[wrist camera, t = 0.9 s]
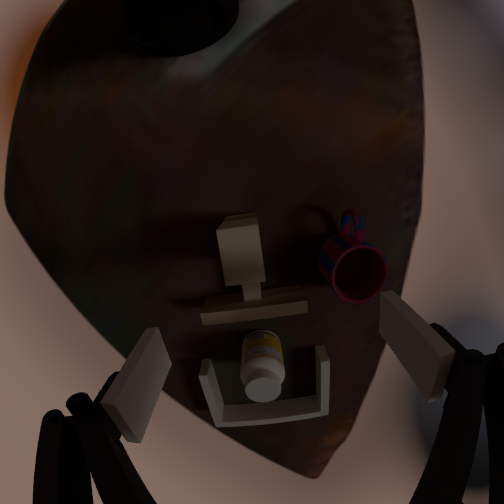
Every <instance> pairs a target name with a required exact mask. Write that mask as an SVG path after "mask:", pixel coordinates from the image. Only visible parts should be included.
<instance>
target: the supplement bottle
mask: <svg viewBox="0 0 504 504" xmlns="http://www.w3.org/2000/svg"><path fill="white" fill-rule="evenodd" d="M240 377H241V380H242V382H243V384H244V385H245V392H246V395H247V396H248V397H249V398H250V399H251V400H253V401H256V402H269V401H272V400H274V399H276V398H277V397H278V396H279V394H280V392H281V383H282V382H283V380H284V377H285V368H284V362H283V356H282V349H281V344H280V340H279V338H278V337H277V335H275V334H274V333H272V332H270V331H268V330H256V331H253V332H251V333H249V334H248V335H247V336H246V337H245V339H244V341H243V344H242V356H241V369H240Z"/></svg>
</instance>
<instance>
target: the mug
mask: <svg viewBox="0 0 504 504" xmlns="http://www.w3.org/2000/svg"><path fill="white" fill-rule="evenodd" d="M350 216H352V219H353V223H354V235H352V234H350V233H349V221H350ZM362 238H363V220H362V217H361V215H360V213H359V212H358V211H357V210H356V209H347V210H345V211H344V213H343V215H342V219H341V228H340V233H338V234H335V235H332V236H331V237H329V238H328V239H327V240H325V242H324V243H323V244H322V246H321V247H320V249H319V252H318V256H317V266H318V269H319V271H320V273H321V275H322V276H323V278H324V279H325V280H326V282H327V283H328V285H329V286H330V287H331V289H332V290H333V292H334V293H335V294H336V296H337V297H338V298H339V299H340V300H341V301H343V302H345V303H348V304H353V305H358V304H363V303H366V302H369V301H370V300H372V299H374V298H375V297H376V296H377V295H378V294H379V293H380V292H381V290H382V289H383V287H384V285H385V283H386V281H387V277H388V264H387V260H386V258H385V256H384V255H383V253H382V252H381V251H380V250H379V249H377V248H376V247H374V246H373V245H371V244H369V243H367V242H366V241H364V240H362Z"/></svg>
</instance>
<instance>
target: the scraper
mask: <svg viewBox="0 0 504 504" xmlns="http://www.w3.org/2000/svg"><path fill="white" fill-rule="evenodd" d="M216 233H217V239H218V245H219V251H220V256H221V262H222V268H223V273H224V279H225V285H226V286H233V285H241V284H242V289H243V292H242V293H234V294H225V295H217V296H208V297H207V298H206V300H205V303H204V305H203V308H202V311H201V313H200V315H201V319H202V323H203V325H212V324H222V323H231V322H241V321H249V320H257V319H265V318H273V317H280V316H287V315H294V314H301V313H307V312H308V306H307V299H306V297H305V295H304V292H303V290H302V288H301V286H300V285H294V286H287V287H280V288H273V289H265V290H261V286H260V282H264V281H265V273H264V265H263V257H262V249H261V242H260V234H259V227H258V220H257V213H256V212H255V213H248V214H241V215H234V216H227V217H226V219H225V220H224V221H223V222H222V224H221V225H220V226H219V227H218V229H217V230H216Z"/></svg>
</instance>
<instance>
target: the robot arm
mask: <svg viewBox="0 0 504 504" xmlns="http://www.w3.org/2000/svg"><path fill="white" fill-rule="evenodd" d="M118 1H119V2H120V3H121V4H122V5H123V7H124V8H125V15H126V22H127V28H128V32H129V34H130V36H131V38H132V39H133V40H134V41H135V42H136V44H137V45H138V46H139V47H140V48H141V49H143V50H144V51H146V52H148V53H151V54H154V55H158V56H180V55H186V54H190V53H193V52H196V51H199V50H202V49H204V48H206V47H208V46H210V45H212V44H214V43H215V42H217V41H218V40H220V39H221V38H222V37H223V36H225V35H226V34H227V33H228V32H229V30H230V29H231V28H232V27H233V25H234V24H235V22H236V20H237V17H238V13H239V3H238V0H118ZM379 333H380V334H381V335H382V337H383V338H384V340H385V341H386V342H387V344H388V345H389V346H390V348H391V349H392V351H393V352H394V353H395V355H396V356H397V358H398V359H399V361H400V362H401V363H402V365H403V366H404V368H405V369H406V371H407V372H408V373H409V375H410V376H411V378H412V379H413V381H414V382H415V384H416V385H417V387H418V388H419V390H420V391H421V392H422V394H423V396H424V397H425V399H426V400H427V402H428V403H429V402H431V401H433V400H436V399H438V398H440V397H441V396H442V394H443V391H444V388H445V389H446V390H447V392H448V395H447V398H446V401H445V403H444V406H443V409H444V410H443V414H442V418H441V422H440V425H439V429H438V432H437V435H436V438H435V441H434V445H433V448H432V450H431V453H430V456H429V459H428V462H427V464H426V467H425V469H424V472H423V474H422V476H421V479H420V481H419V483H418V486H417V488H416V490H415V492H414V494H413V497H412V498H411V501H410V503H409V504H463V503H462V497H463V494H464V491H465V488H466V485H467V482H468V478H469V475H470V471H471V467H472V464H473V459H474V455H475V451H476V446H477V441H478V435H479V429H480V423H481V416H482V407H483V406H484V413H485V419H486V427H487V436H488V447H489V465H490V466H489V468H490V488H489V489H490V490H489V504H504V343H501V344H500V345H498V347H497V350H496V353H494V354H489V355H483V353H482V352H480V351H478V350H474V349H468V350H467V349H466V348H464V347H463V346H462V345H461V344H460V343H459V342H458V341H457V340H456V339H455V338H454V337H452V335H451V334H450V333H449V332H448V331H447V330H446V329H444V328H443V327H442V326H440V325H438V324H436V323H432V324H428V323H427V322H426V321H425V320H424V319H423V318H422V317H421V316H419V315H418V314H417V313H416V312H415V311H414V310H413V309H412V308H411V307H410V306H409V305H408V304H407V303H405V301H403V300H402V299H401V298H400V297H399V296H398V295H397V294H396V293H395V292H394V291H392V290H390V291H386V292H381V301H380V326H379ZM171 364H172V363H171V361H170V358H169V356H168V353H167V350H166V348H165V345H164V342H163V340H162V337H161V334H160V331H159V329H158V327H156V328H147V329H146V330H145V332H144V333H143V335H142V337H141V338H140V340H139V341H138V343H137V344H136V346H135V347H134V349H133V350H132V352H131V354H130V355H129V357H128V358H127V360H126V362H125V364H124V365H123V366H122V368H121V370H120V371H119V372H114V373H113V374H112V375H111V376H110V377H109V378H108V379H107V381H106V383H105V385H104V386H103V387H102V390H100V392H99V393H98V395H97V397H96V398H95V400H94V402H92V400H91V399H90V397H89V396H88V394H86V393H83V392H81V393H76V394H74V395H72V396H71V397H70V398H69V399H68V400H67V402H66V407H67V408H68V410H69V411H70V413H71V414H72V416H66V417H65V416H64V415H63V414H62V412H61V411H60V410H57V409H54V410H50V411H48V412H47V413H46V414H45V415H44V417H43V419H42V424H41V429H40V435H39V441H38V447H37V455H36V462H35V472H34V484H33V485H34V486H33V504H93V496H92V487H91V475H92V478H93V480H94V483H95V485H96V488H97V490H98V493H99V495H100V497H101V500H102V502H103V504H157V503H156V502H155V500H154V499H153V497H152V496H151V494H150V493H149V491H148V490H147V488H146V486H145V485H144V483H143V481H142V480H141V478H140V476H139V475H138V473H137V471H136V469H135V467H134V465H133V464H132V462H131V460H130V458H129V456H128V454H127V452H126V450H125V449H124V446H123V444H122V443H121V442H120V440H119V439H120V437H121V435H123V437H124V438H125V439H126V440H127V442H133V443H141V441H142V439H143V436H144V433H145V431H146V428H147V425H148V423H149V420H150V417H151V415H152V412H153V410H154V407H155V404H156V402H157V399H158V397H159V394H160V392H161V389H162V387H163V384H164V382H165V379H166V377H167V374H168V372H169V369H170V367H171ZM90 472H91V475H90Z"/></svg>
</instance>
